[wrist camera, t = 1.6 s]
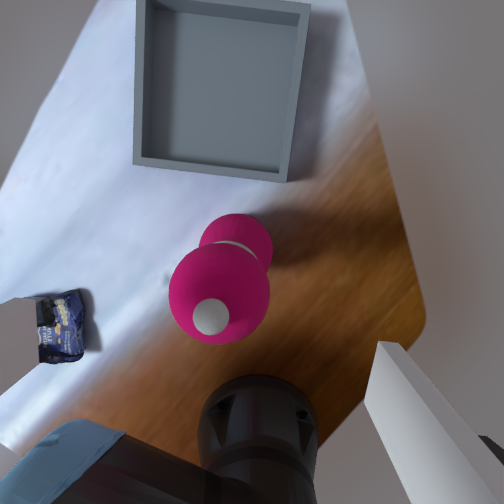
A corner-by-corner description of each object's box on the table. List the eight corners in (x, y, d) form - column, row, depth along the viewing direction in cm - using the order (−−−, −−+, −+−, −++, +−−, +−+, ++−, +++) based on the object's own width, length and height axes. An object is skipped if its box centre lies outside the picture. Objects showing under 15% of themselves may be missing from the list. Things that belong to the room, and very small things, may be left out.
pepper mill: (264, 204, 32) (270, 234, 13) (276, 266, 34) (297, 380, 14) (200, 216, 33) (110, 265, 13) (215, 278, 34) (154, 402, 15)
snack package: (13, 255, 35) (-17, 336, 37) (-29, 274, 28) (-62, 370, 31) (114, 294, 38) (81, 366, 40) (96, 319, 32) (58, 403, 34)
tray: (283, 183, 32) (286, 183, 29) (144, 166, 31) (132, 164, 29) (305, 22, 28) (311, 4, 25) (149, 3, 28) (136, -18, 25)
